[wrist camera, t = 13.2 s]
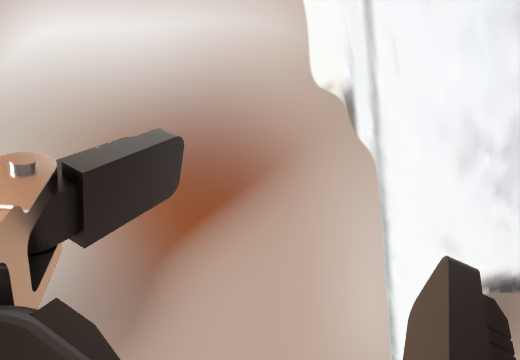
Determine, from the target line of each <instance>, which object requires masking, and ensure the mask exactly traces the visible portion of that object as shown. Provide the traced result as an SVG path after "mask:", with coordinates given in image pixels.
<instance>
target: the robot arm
mask: <svg viewBox="0 0 520 360" xmlns="http://www.w3.org/2000/svg"><path fill="white" fill-rule="evenodd" d="M183 150H184V141H183V139H182V138H181V137H180V136H177V135H175V134H173V133H171V132H169V131H166V130H164V129H161V128H159V129H155V130H152V131H149V132H147V133H144V134H141V135H138V136H134V137H126V138H121V139H118V140H116V141H112V142H110V144H108V143H106V144H103V145H101V146H99V147H98V148H96V147H94V148H92V149H88V150H85V151H82V152H79V153H76V154H73V155H70V156H67V157H64V158H61V159H58V160H54V159H53V158H52V157H50V156H48V155H45V154H41V153H35V152H17V153H10V154H6V155H3V156H0V360H120V359H119V357H118V356H117V354H116V353H115V352H114V350H113V349H112V348H111V346H110V345H109V344H108V342H107V341H106V339H105V338H104V337H103V335H102V334H101V333H100V331H99V330H98V329H97V327H96V326H95V324H93V323H92V322H90V321H89V320H87V319H86V318H85V317H83V316H82V315H80V314H79V313H77V312H76V311H75V310H73V309H72V308H70V307H69V306H68V305H66V304H65V303H63V302H62V301H61V300H59V299H58V298H55V299H54V300H52V301H51V302H49V303H48V304H46V305H45V306H43V307H42V308H41V309H39V310H38V308H39V304H40V302H41V299H42V297H43V295H44V292H45V290H46V288H47V285H48V283H49V281H50V278H51V276H52V274H53V271H54V269H55V267H56V264H57V262H58V260H59V257H60V255H61V253H62V242H63V241H65V240H67V239H70V240H72V241H73V242H75V243H77V244H78V245H80V246H81V247H83V248H86V247H88V246H89V245H91V244H93V243H94V242H96V241H98V240H99V239H101V238H103V237H104V236H106V235H108V234H109V233H111V232H113V231H114V230H116V229H118V228H119V227H121V226H123V225H124V224H126V223H128V222H129V221H131V220H133V219H134V218H136V217H138V216H139V215H141V214H143V213H144V212H146V211H148V210H149V209H151V208H153V207H154V206H156V205H158V204H159V203H161V202H163V201H164V200H166V199H168V198H169V197H171V196H172V195H173V193H174V192H175V191H176V189H177V187H178V184H179V180H180V173H181V165H182V157H183ZM510 340H511V334H510V329H509V325H508V320H507V318H506V317H505V315H504V314H503V312H502V310H501V309H500V308H499V306H498V304H497V303H496V301H495V300H494V299H492V298H490V297H488V296H486V295H483V293H482V286H481V279H480V272H479V270H478V269H476V268H473V267H471V266H469V265H467V264H464V263H462V262H460V261H458V260H455V259H453V258H451V257H449V256H445V257H443V258H442V260H441V261H440V262H439V264H438V265H437V267H436V269H435V270H434V272H433V273H432V275H431V277H430V278H429V280H428V281H427V283H426V285H425V286H424V288H423V289H422V291H421V292H420V294H419V296H418V297H417V299H416V301H415V303H414V305H413V307H412V310H411V312H410V315H409V319H408V325H407V333H406V340H405V348H404V355H403V360H516V358H515V357H514V354H515V353H514V348H513V344H512V341H510Z"/></svg>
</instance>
